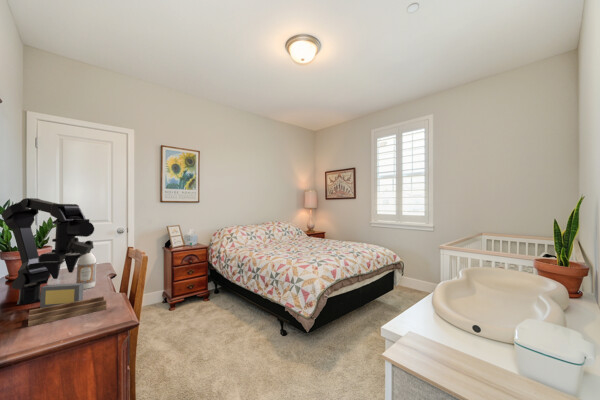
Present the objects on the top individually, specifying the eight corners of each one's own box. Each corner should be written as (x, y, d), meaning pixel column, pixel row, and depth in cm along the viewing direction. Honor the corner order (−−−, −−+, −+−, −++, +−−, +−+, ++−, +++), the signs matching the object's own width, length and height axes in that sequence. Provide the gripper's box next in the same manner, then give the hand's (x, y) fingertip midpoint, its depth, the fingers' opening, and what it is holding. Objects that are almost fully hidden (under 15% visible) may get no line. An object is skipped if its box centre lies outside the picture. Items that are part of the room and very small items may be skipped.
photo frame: (40, 308, 94) (41, 287, 94) (45, 305, 96) (46, 284, 97) (78, 305, 97) (79, 285, 97) (82, 302, 100) (83, 282, 100)
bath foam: (74, 290, 114) (76, 246, 114) (77, 286, 119) (79, 244, 120) (94, 288, 117) (96, 245, 118) (96, 284, 123) (97, 243, 124)
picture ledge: (28, 326, 79) (28, 317, 80) (29, 318, 85) (29, 309, 85) (106, 309, 94) (106, 301, 94) (102, 303, 99) (103, 295, 99)
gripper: (76, 238, 91) (74, 281, 90) (101, 233, 109) (99, 268, 108) (38, 238, 88) (35, 283, 87) (70, 233, 106) (68, 270, 105)
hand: (63, 275), depth 97 cm, fingers open, 9 cm apart
